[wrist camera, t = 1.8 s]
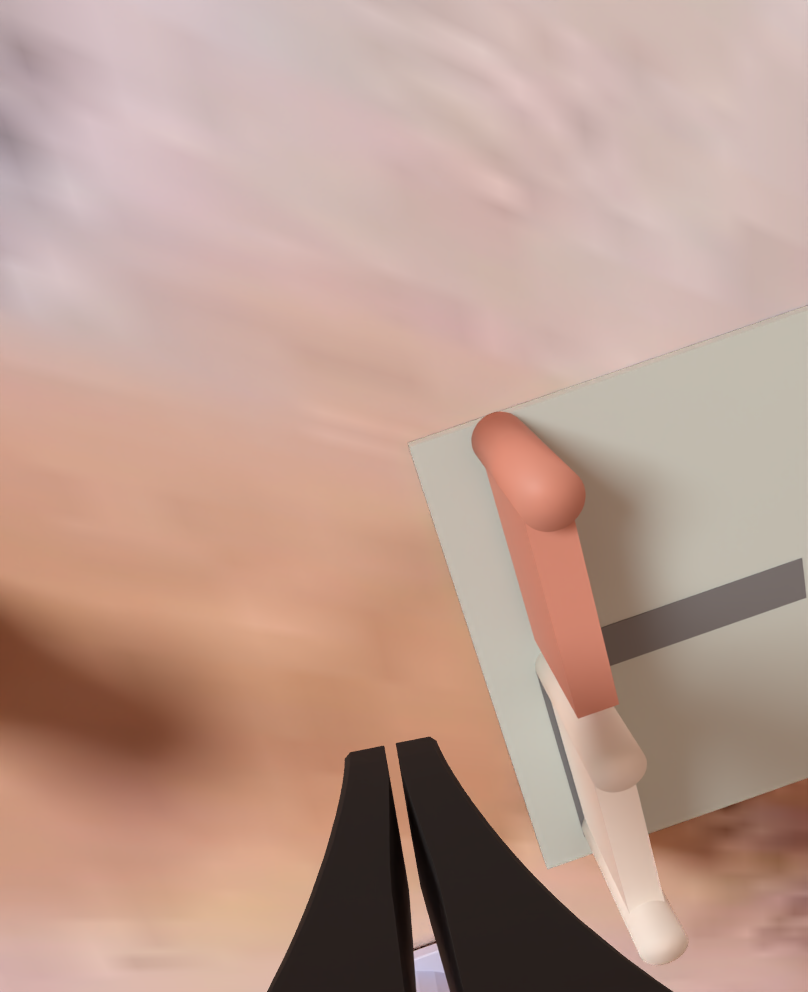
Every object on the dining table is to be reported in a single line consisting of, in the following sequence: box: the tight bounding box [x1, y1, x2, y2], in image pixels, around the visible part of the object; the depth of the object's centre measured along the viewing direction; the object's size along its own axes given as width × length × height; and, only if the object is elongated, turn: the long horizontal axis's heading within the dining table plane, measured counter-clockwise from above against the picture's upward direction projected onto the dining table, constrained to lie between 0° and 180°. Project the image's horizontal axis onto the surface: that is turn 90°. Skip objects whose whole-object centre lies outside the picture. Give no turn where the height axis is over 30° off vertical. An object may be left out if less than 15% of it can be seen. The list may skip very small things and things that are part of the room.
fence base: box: [535, 652, 688, 965], centre depth 24 cm, size 9×2×6 cm, turn 17°
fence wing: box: [471, 412, 619, 719], centre depth 20 cm, size 8×2×5 cm, turn 17°
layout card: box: [408, 305, 808, 869], centre depth 25 cm, size 18×15×1 cm
